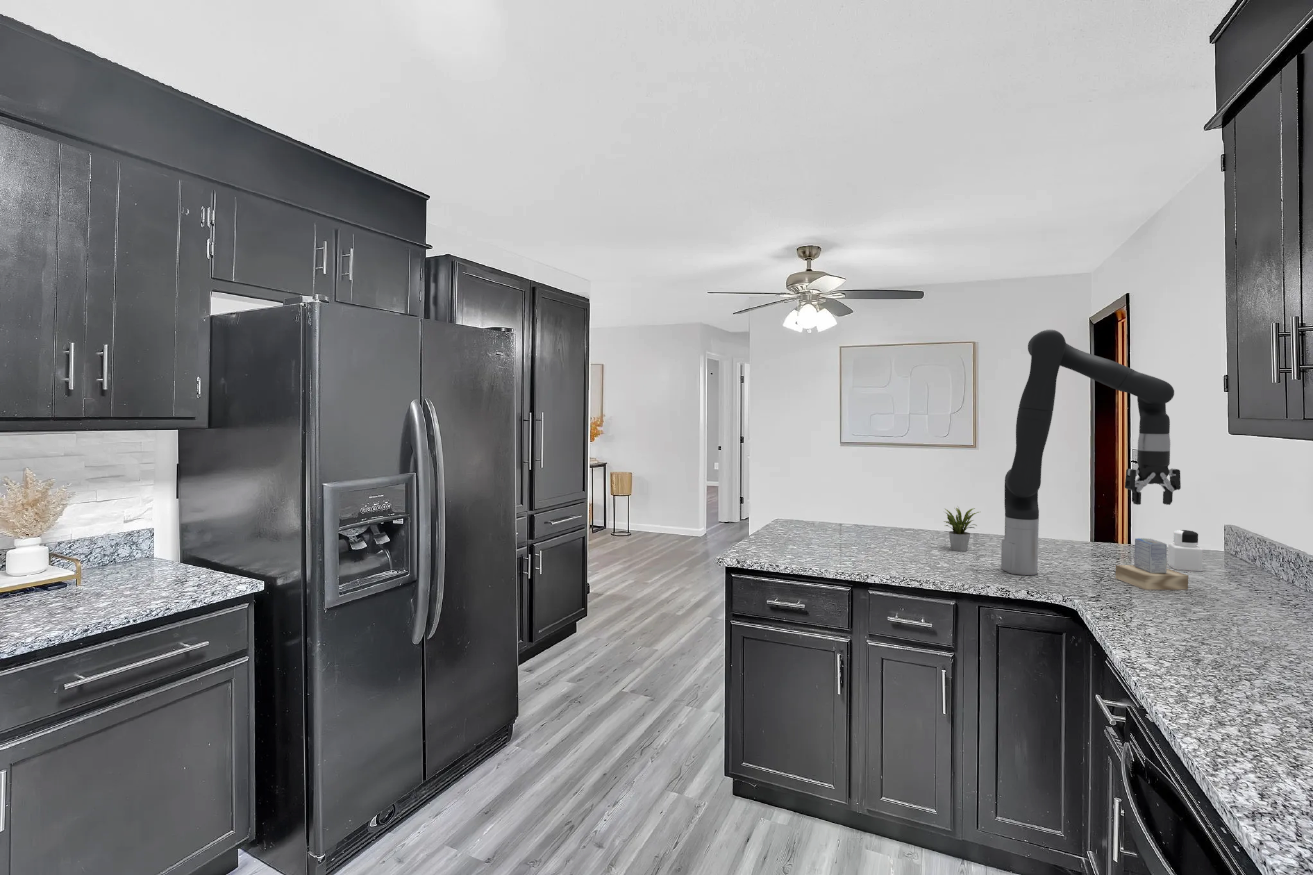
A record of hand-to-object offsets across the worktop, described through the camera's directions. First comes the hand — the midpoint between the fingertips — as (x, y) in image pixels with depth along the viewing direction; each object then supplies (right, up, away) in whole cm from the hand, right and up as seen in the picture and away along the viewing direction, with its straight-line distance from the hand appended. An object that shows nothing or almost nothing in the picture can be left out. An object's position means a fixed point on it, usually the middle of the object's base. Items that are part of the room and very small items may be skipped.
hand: (1151, 504), depth 189 cm
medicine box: (-1, -19, -1) cm, 19 cm away
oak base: (-1, -23, -1) cm, 23 cm away
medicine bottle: (+23, -22, +17) cm, 36 cm away
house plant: (-34, -21, +45) cm, 60 cm away
